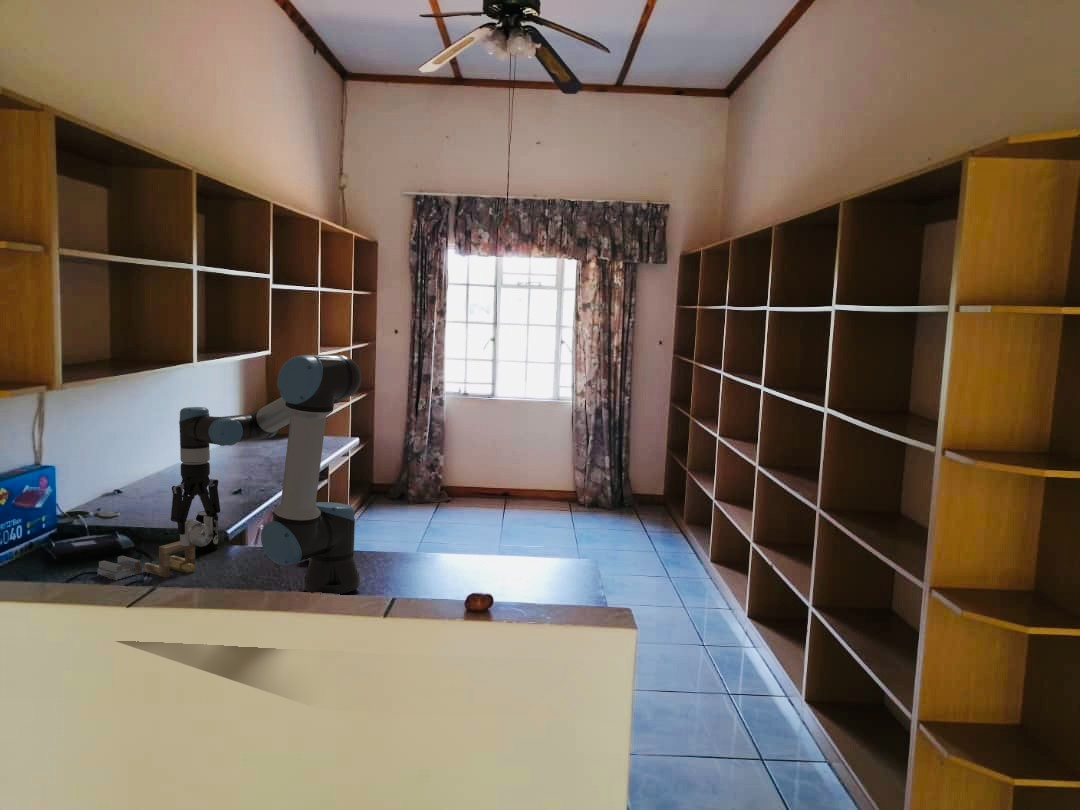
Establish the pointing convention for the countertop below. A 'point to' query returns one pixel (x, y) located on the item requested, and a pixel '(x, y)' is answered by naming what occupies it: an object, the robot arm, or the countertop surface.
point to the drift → (182, 566)
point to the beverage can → (214, 541)
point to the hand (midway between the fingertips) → (196, 541)
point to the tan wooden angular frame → (165, 557)
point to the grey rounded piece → (199, 533)
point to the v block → (120, 568)
